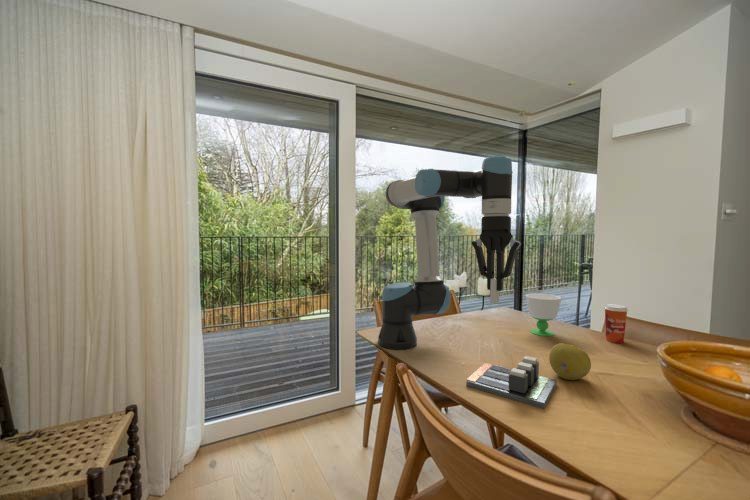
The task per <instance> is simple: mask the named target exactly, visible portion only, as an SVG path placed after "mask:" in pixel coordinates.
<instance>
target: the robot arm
mask: <svg viewBox="0 0 750 500" xmlns="http://www.w3.org/2000/svg"><path fill="white" fill-rule="evenodd" d="M512 162H513V161H512V159H511V157H510V156H506V155H498V156H497V155H496V156H489V157H485V158H484V159H483V161H482V162H481V163H482V164H481V165H482V166H481V169H479V170H456V169H455V170H450V169H435V168H427V169H426V168H425V169H420V170H418V171H417V174H416V176H415V177H411V178H408V179H396V180H394V181H392V182H391V183H389V184H388V185H387V187H386V189H385V198H386V201H387V202H388V203H389V204H390V205H391V206H392V207H394V208H396V209H400V210H410V215H411V216H412V217H413V218H414V225H415V245H416V262H417V263H416V265H417V277H416V279H415V280H414V285H413V284H412V282H407V281H403V282H394V283H390V284H387V285H385V286H384V287H383V289H382V298H381V300H382V303H381V304H382V324H381V327H380V330H379V334H378V336H377V337H378V338H377V340H378V341H377V343H378V345H379V346H380V347H382V348H385V349H390V350H406V349H411V348H414V347H415V346H417V344H418V338H417V335H416V331H415V328H414V324H413V317H414V316H415V317H416V316H426V315H433V316H435V315H438V314H443V313H445V312H446V311H447V310H448V308H449V306H450V304H451V291H450V287H449V286H448V285H447V284H445V282H444V279H443V278H442V277H441V276H440V263H439V261H440V260H439V245H438V228H437V217H438V215H439V214H440V210H441V209H443V207H444V204H445V201H446V200H445V199H446V197H455V198H457V197H459V198H465V199H476V198H479V197H481V215H483V216H482V218H481V225H480V226H481V233H480V235H479V238H477V239H476V240H473V241H471V245H472V247H473V249H474V251H475V255H476V262H477V264H478V270H479V273H480V276H483V277H485V278H486V289H487V290H489V293H490V294H489V295H490V297H489V298H490V299H489V300H490V301H489V303H491V304H497V303H499V302H500V292H501V291H503V289H504V279H505V278H509V277H510V276H511V274H512V270H513V267H514V264H515V260H516V256H517V253H518V250H519V248H520V247H521V246H522V242H521V241H518V240H516V239H515V238H513V234H512V232H511V231H512V217H511V216H510V215H511V214H512V189H513V188H512V187H513V185H512V184H513V174H514V173H513V165H512V164H513V163H512ZM508 245H509V248H510V249H509V253H508V255H507V260H506V262H505V249H506V248H508ZM482 246H484V247H485V248H486V251H485V253H486V259H485V255H484V250H483V247H482ZM495 254H496V255H495ZM495 256H496V260H495ZM495 261H496V262H495ZM495 263H496V264H495ZM495 267H496V268H495ZM495 269H496V270H495ZM495 271H496V273H495Z"/></svg>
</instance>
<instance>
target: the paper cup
mask: <svg viewBox="0 0 750 500" xmlns="http://www.w3.org/2000/svg"><path fill="white" fill-rule="evenodd" d="M628 312H629V309H628V307H627V306H626V305H622V304H615V303H608V304H605V305H604V316H605V317H604V318H605V319H604V320H605V321H604V322H605V323H604V324H605V339H606V341H607V342H610V343H613V344H614V343H615V344H623V343H624V341H625V333H626V323H627V314H628Z"/></svg>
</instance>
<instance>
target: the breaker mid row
mask: <svg viewBox="0 0 750 500" xmlns="http://www.w3.org/2000/svg"><path fill="white" fill-rule="evenodd" d="M515 368H516V369H521V370H525V371H526V374H528V385H529V386H532V384H533V383H534V368H532V364H528V363H524V362H522V361H519V362H518V364H517V366H516V367H515Z"/></svg>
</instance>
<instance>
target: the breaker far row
mask: <svg viewBox="0 0 750 500" xmlns="http://www.w3.org/2000/svg"><path fill="white" fill-rule="evenodd" d="M521 362H524V363H528V364H532V368H534V379H536V378H537V377H538V376H540V375H539V373H540V372H539V371H540V370H539V369H540V368H539V367H540V361H538V358H537V357H532V356H528V355H525V356H524V357H523V358H522V360H521Z"/></svg>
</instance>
